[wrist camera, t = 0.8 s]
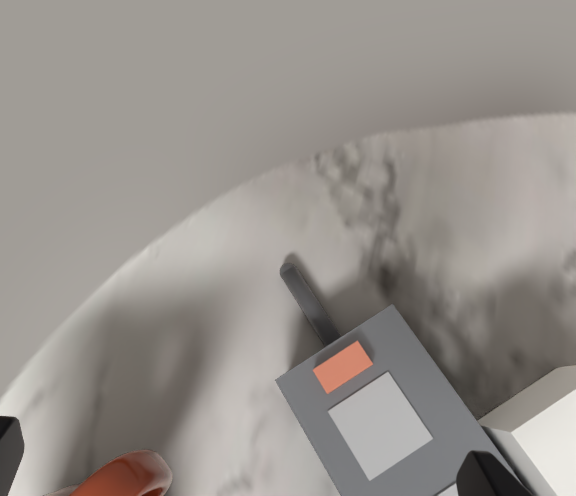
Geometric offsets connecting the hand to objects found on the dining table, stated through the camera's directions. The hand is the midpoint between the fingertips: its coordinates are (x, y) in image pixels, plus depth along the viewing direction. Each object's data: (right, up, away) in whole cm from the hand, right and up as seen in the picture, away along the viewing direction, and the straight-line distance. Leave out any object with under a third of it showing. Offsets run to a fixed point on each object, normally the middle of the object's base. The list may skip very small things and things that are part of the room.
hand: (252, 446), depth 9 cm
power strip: (+7, -6, +13) cm, 16 cm away
